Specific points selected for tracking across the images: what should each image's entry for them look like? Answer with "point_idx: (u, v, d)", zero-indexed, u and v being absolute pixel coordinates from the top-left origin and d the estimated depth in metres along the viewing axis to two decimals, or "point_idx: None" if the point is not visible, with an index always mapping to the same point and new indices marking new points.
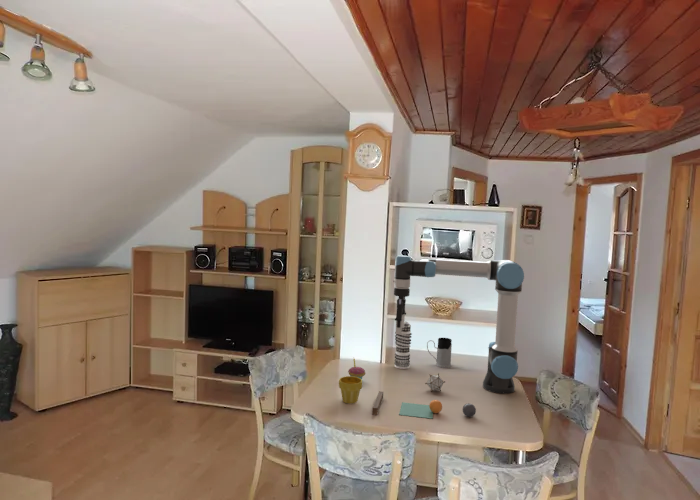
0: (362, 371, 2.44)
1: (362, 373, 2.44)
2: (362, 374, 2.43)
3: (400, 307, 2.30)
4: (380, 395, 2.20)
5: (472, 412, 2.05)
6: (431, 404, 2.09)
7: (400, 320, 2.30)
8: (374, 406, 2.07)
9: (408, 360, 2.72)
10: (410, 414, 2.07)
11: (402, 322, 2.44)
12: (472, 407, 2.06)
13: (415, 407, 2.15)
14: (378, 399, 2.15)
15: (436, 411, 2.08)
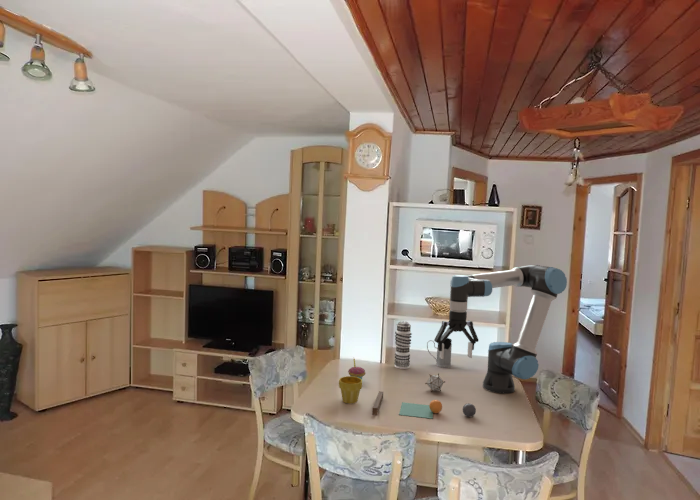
0: (362, 371, 2.44)
1: (362, 373, 2.44)
2: (362, 374, 2.43)
3: (441, 329, 2.14)
4: (380, 395, 2.20)
5: (472, 412, 2.05)
6: (431, 404, 2.09)
7: (439, 343, 2.14)
8: (374, 406, 2.07)
9: (408, 360, 2.72)
10: (410, 414, 2.07)
11: (469, 351, 2.18)
12: (472, 407, 2.06)
13: (415, 407, 2.15)
14: (378, 399, 2.15)
15: (436, 411, 2.08)
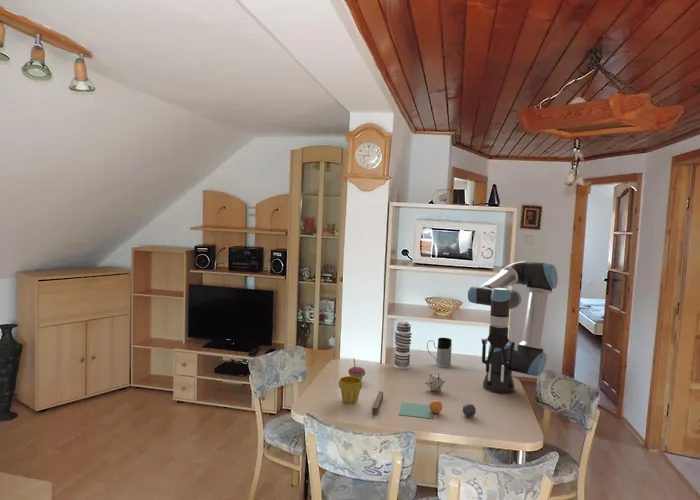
0: (362, 371, 2.44)
1: (362, 373, 2.44)
2: (362, 374, 2.43)
3: (482, 348, 2.04)
4: (380, 395, 2.20)
5: (472, 412, 2.05)
6: (431, 404, 2.09)
7: (487, 364, 2.04)
8: (374, 406, 2.07)
9: (408, 360, 2.72)
10: (410, 414, 2.07)
11: (501, 375, 2.04)
12: (472, 407, 2.06)
13: (415, 407, 2.15)
14: (378, 399, 2.15)
15: (436, 411, 2.08)
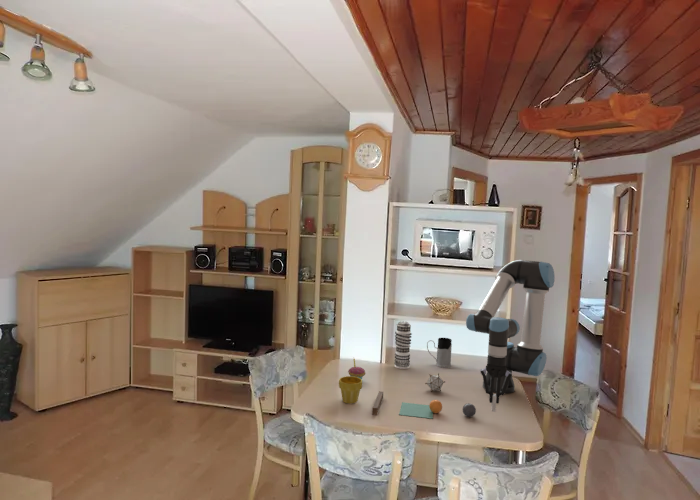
0: (362, 371, 2.44)
1: (362, 373, 2.44)
2: (362, 374, 2.43)
3: (483, 379, 2.05)
4: (380, 395, 2.20)
5: (472, 412, 2.05)
6: (431, 404, 2.09)
7: (490, 395, 2.05)
8: (374, 406, 2.07)
9: (408, 360, 2.72)
10: (410, 414, 2.07)
11: None
12: (472, 407, 2.06)
13: (415, 407, 2.15)
14: (378, 399, 2.15)
15: (436, 411, 2.08)
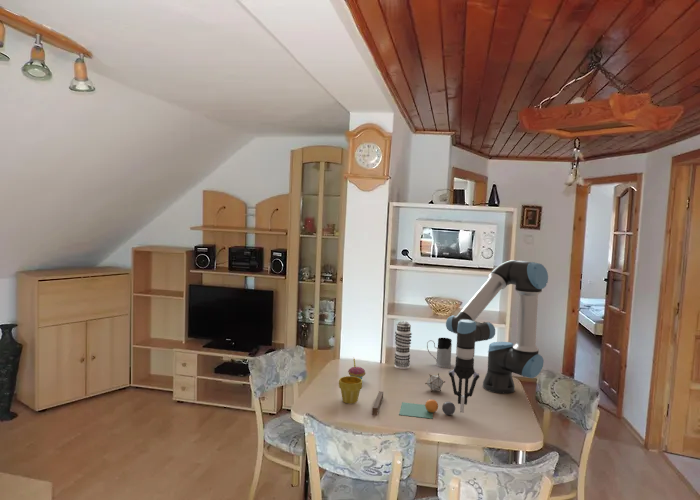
0: (362, 371, 2.44)
1: (362, 373, 2.44)
2: (362, 374, 2.43)
3: None
4: (380, 395, 2.20)
5: (446, 409, 2.07)
6: (426, 406, 2.10)
7: (459, 396, 2.07)
8: (374, 406, 2.07)
9: (408, 360, 2.72)
10: (410, 414, 2.07)
11: None
12: (444, 412, 2.08)
13: (415, 407, 2.15)
14: (378, 399, 2.15)
15: (434, 410, 2.08)
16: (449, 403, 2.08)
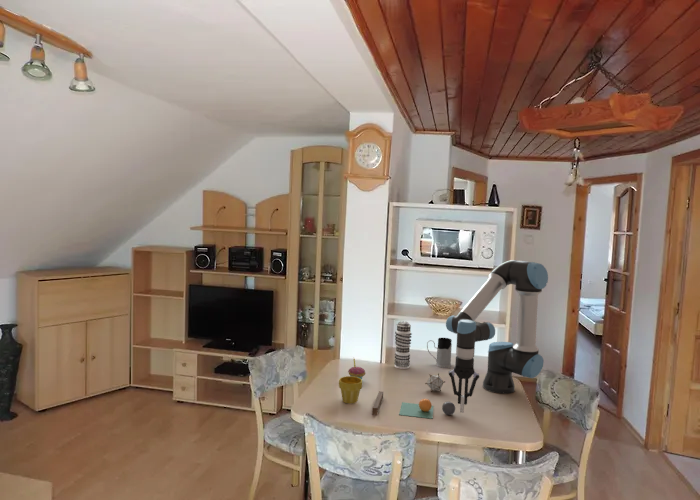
0: (362, 371, 2.44)
1: (362, 373, 2.44)
2: (362, 374, 2.43)
3: (451, 380, 2.08)
4: (380, 395, 2.20)
5: (446, 409, 2.07)
6: (422, 410, 2.10)
7: (459, 396, 2.07)
8: (374, 406, 2.07)
9: (408, 360, 2.72)
10: (410, 414, 2.07)
11: None
12: (444, 412, 2.08)
13: (415, 407, 2.15)
14: (378, 399, 2.15)
15: (428, 406, 2.09)
16: (449, 403, 2.08)
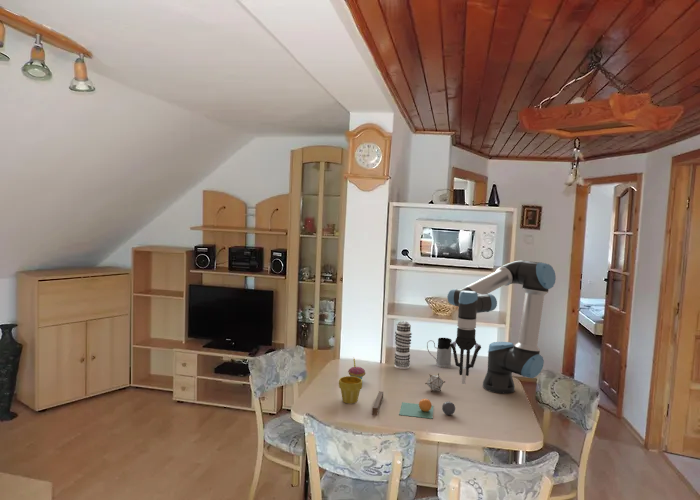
0: (362, 371, 2.44)
1: (362, 373, 2.44)
2: (362, 374, 2.43)
3: (453, 352, 2.07)
4: (380, 395, 2.20)
5: (446, 409, 2.07)
6: (422, 410, 2.10)
7: None
8: (374, 406, 2.07)
9: (408, 360, 2.72)
10: (410, 414, 2.07)
11: None
12: (444, 412, 2.08)
13: (415, 407, 2.15)
14: (378, 399, 2.15)
15: (428, 406, 2.09)
16: (449, 403, 2.08)
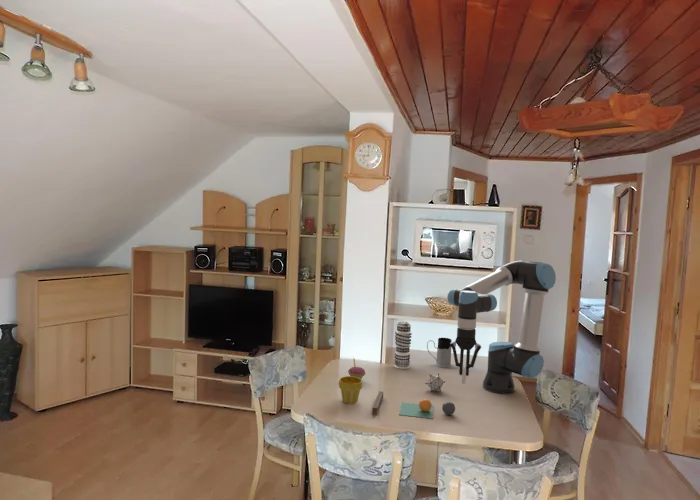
0: (362, 371, 2.44)
1: (362, 373, 2.44)
2: (362, 374, 2.43)
3: (453, 351, 2.07)
4: (380, 395, 2.20)
5: (446, 409, 2.07)
6: (422, 410, 2.10)
7: None
8: (374, 406, 2.07)
9: (408, 360, 2.72)
10: (410, 414, 2.07)
11: None
12: (444, 412, 2.08)
13: (415, 407, 2.15)
14: (378, 399, 2.15)
15: (428, 406, 2.09)
16: (449, 403, 2.08)
